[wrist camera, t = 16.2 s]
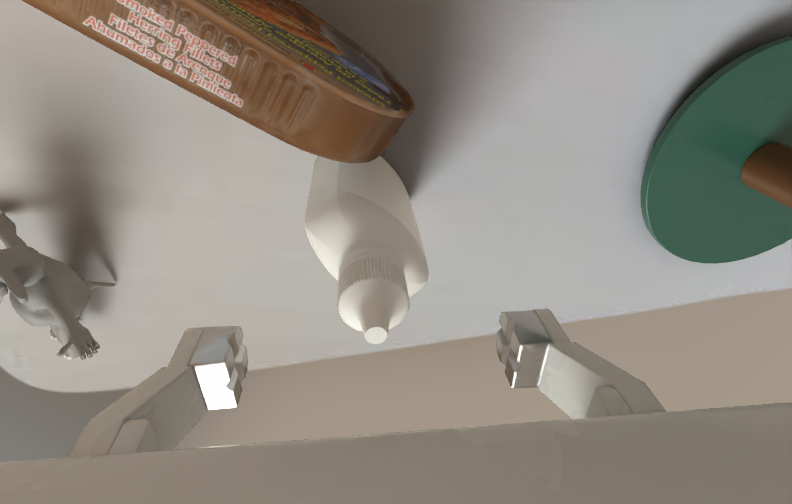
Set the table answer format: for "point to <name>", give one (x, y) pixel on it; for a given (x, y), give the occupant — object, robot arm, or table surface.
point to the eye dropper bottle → (366, 241)
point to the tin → (256, 66)
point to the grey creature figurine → (46, 292)
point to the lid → (726, 163)
